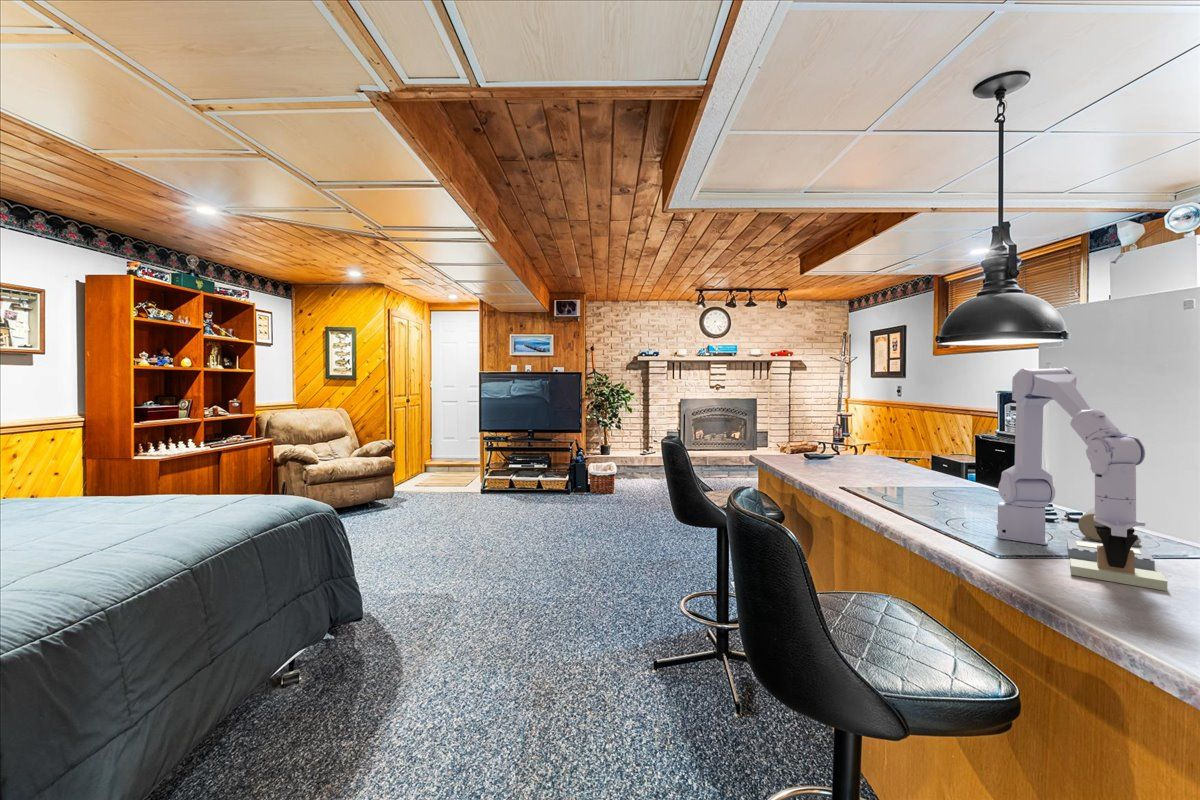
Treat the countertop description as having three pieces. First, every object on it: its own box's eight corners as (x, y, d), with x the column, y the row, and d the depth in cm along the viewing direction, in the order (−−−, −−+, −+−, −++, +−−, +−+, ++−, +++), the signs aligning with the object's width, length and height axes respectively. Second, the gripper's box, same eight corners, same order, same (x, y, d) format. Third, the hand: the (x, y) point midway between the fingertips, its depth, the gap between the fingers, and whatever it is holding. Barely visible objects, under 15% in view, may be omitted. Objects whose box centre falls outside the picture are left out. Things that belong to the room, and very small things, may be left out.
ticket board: (1068, 557, 111) (1068, 547, 111) (1067, 546, 118) (1067, 537, 118) (1154, 570, 102) (1154, 560, 102) (1147, 558, 110) (1147, 548, 110)
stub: (1071, 574, 100) (1070, 546, 100) (1070, 566, 105) (1069, 539, 105) (1167, 590, 92) (1167, 560, 92) (1161, 581, 96) (1161, 552, 96)
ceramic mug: (1076, 538, 125) (1076, 508, 125) (1084, 533, 129) (1085, 504, 129) (1137, 550, 116) (1137, 517, 116) (1144, 543, 121) (1144, 512, 120)
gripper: (1150, 506, 90) (1151, 579, 90) (1139, 493, 101) (1139, 559, 101) (1096, 500, 95) (1096, 570, 95) (1090, 489, 105) (1091, 552, 106)
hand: (1115, 564), depth 98 cm, fingers closed on stub, 3 cm apart
